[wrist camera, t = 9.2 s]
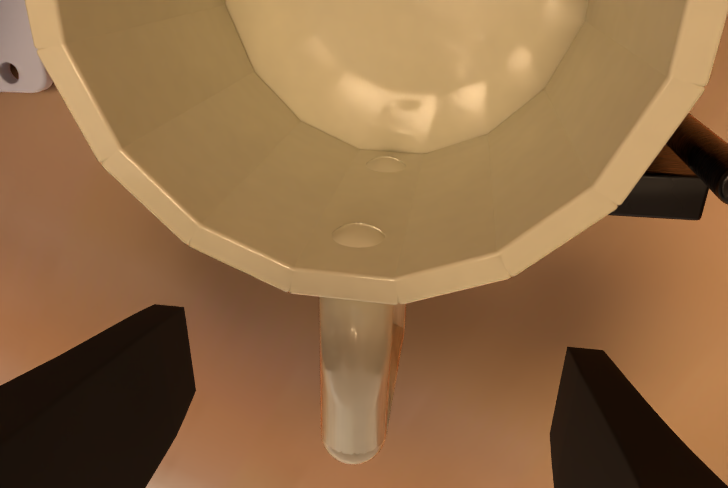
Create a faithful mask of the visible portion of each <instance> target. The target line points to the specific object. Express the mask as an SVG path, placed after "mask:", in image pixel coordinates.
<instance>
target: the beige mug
mask: <svg viewBox="0 0 728 488" xmlns="http://www.w3.org/2000/svg"><path fill="white" fill-rule="evenodd" d="M25 5H26V10H27V15H28V19H29V24H30V29H31V34H32V38H33V43H34V46H35V48H37V49H38V50H37V54H38V56H39V58H40V59H41V61H42V63H43V65H44V67H45V68H46V70H47V72H48V74H49V75H50V77H51V79H52V81H53V82H54V84H55V86H56V88H57V90H58V91H59V93H60V95H61V97H62V98H63V100H64V102H65V104H66V105H67V107H68V109H69V111H70V113H71V114H72V116H73V118H74V120H75V121H76V123H77V125H78V127H79V128H80V130H81V132H82V134H83V136H84V137H85V139H86V141H87V143H88V144H89V146H90V148H91V150H92V151H93V153H94V155H95V157H96V159H97V160H98V161H99V162H102V164H101V165H102V167H103V168H104V169H105V170H106V171H108V172H109V173H110V174H111V175H112V176H113V177H114V178H115V179H116V180H117V181H118V182H119V183H120V184H121V185H122V186H124V187H125V188H126V189H127V190H128V191H129V192H130V193H131V194H132V195H133V196H134V197H135V198H136V199H137V200H139V201H140V202H141V203H142V204H143V205H144V206H145V207H146V208H147V209H148V210H149V211H150V212H151V213H152V214H153V215H155V216H156V217H157V218H158V219H159V220H160V221H161V222H162V223H163V224H164V225H165V226H166V227H167V228H168V229H170V230H171V231H172V232H173V233H174V234H175V235H176V236H177V237H178V238H179V239H180V240H181V241H182V242H183V243H185V244H188V245H189V247H191V248H193V249H195V250H197V251H199V252H201V253H203V254H206V255H208V256H210V257H212V258H214V259H216V260H218V261H221V262H223V263H225V264H227V265H229V266H231V267H233V268H236V269H238V270H240V271H242V272H244V273H246V274H248V275H250V276H253V277H255V278H257V279H259V280H261V281H263V282H265V283H268V284H270V285H272V286H274V287H276V288H278V289H280V290H283V291H285V292H289V291H290V293H292V294H299V295H308V296H318V297H319V308H320V419H321V438H322V441H323V444H324V446H325V448H326V450H327V451H328V453H329V454H330V455H331V456H332V457H333V458H335V459H336V460H338V461H339V462H342V463H345V464H349V465H358V464H362V463H365V462H367V461H369V460H371V459H372V458H374V457H375V456H376V455H377V454H378V453H379V452H380V450H381V448H382V447H383V445H384V442H385V439H386V434H387V428H388V423H389V417H390V411H391V406H392V400H393V394H394V389H395V383H396V377H397V372H398V366H399V360H400V355H401V349H402V344H403V338H404V332H405V319H406V304H407V303H411V302H415V301H419V300H423V299H428V298H432V297H436V296H440V295H444V294H449V293H453V292H457V291H461V290H465V289H469V288H474V287H478V286H482V285H486V284H490V283H495V282H499V281H503V280H507V279H509V278H511V276H513V277H514V276H516V275H518V274H519V273H521V272H522V271H524V270H525V269H527V268H528V267H530V266H531V265H533V264H534V263H536V262H537V261H539V260H541V259H542V258H544V257H545V256H547V255H548V254H550V253H551V252H553V251H554V250H556V249H557V248H559V247H560V246H562V245H563V244H565V243H566V242H568V241H569V240H571V239H572V238H574V237H575V236H577V235H578V234H580V233H581V232H583V231H584V230H586V229H587V228H589V227H590V226H592V225H593V224H595V223H596V222H598V221H599V220H601V219H602V218H604V217H605V216H607V215H608V214H610V213H611V212H613V211H614V210H616V209H617V207H618V205H621V204H622V203H623V202H624V200H625V199H626V198H627V196H628V195H629V193H630V192H631V191H632V189H633V188H634V187H635V185H636V184H637V183H638V181H639V180H640V178H641V177H642V176H643V174H644V173H645V172H646V170H647V169H648V168H649V166H650V165H651V163H652V162H653V161H654V159H655V158H656V157H657V155H658V154H659V152H660V151H661V150H662V148H663V147H664V146H665V144H666V143H667V142H668V140H669V139H670V137H671V136H672V135H673V133H674V132H675V131H676V129H677V128H678V127H679V125H680V124H681V122H682V121H683V120H684V118H685V117H686V116H687V114H688V113H689V112H690V110H691V109H692V107H693V106H694V105H695V103H696V102H697V101H698V99H699V98H700V96H701V95H702V94H703V92H704V90H705V88H704V86H707V84H708V82H709V79H710V76H711V72H712V68H713V65H714V61H715V58H716V54H717V50H718V47H719V43H720V40H721V36H722V32H723V29H724V25H725V22H726V18H727V15H728V0H25Z"/></svg>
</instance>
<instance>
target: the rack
mask: <svg viewBox="0 0 728 488" xmlns="http://www.w3.org/2000/svg"><path fill="white" fill-rule="evenodd" d="M666 144H667V145H665V146H664V147H663V148H662V150H661V151H660V152H659V154H658V155H657V157H656V158H655V159H654V161H653V162H652V163H651V165H650V166H649V168H648V169H647V170H646V172H645V173H644V174H643V176H642V177H641V178H640V180H639V181H638V183H637V184H636V185H635V187H634V188H633V189H632V191H631V192H630V193H629V195H628V196H627V198H626V199H625V200H624V202H623V203H622V204H621V205H618V207H617V209H616V210H614V211H613V212H611V213H610V214H608V215H615V216H632V217H649V218H666V219H683V220H700V218H701V216H702V212H703V209H704V205H705V201H706V198H707V194H708V190H709V189H710V190H711V191H712V192H713V193H714V194H715V195H716V196H717V197H718V198H719V199H720V200H721V201H722V202H723V203H725V204H728V143H726V142H725V141H724V140H723V139H721V138H720V137H719V136H717V135H716V134H715V133H714V132H712V131H711V130H710V129H709V128H707V127H706V126H705V125H703V124H702V123H701V122H700V121H698V120H697V119H696V118H694V117H693V116H692V115H691V114H689V113H688V114H687V116H686V117H685V118H684V120H683V121H682V122H681V124H680V125H679V127H678V128H677V129H676V131H675V132H674V133H673V135H672V136H671V137H670V139H669V140H668V142H667V143H666Z"/></svg>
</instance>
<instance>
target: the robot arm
mask: <svg viewBox="0 0 728 488" xmlns="http://www.w3.org/2000/svg"><path fill="white" fill-rule="evenodd" d="M37 50H38V49H37V48H35V46H34V43H33V38H32V34H31V29H30V24H29V19H28V15H27V10H26V5H25V0H0V92H18V93H36V92H40V91H43V90H46V89H48V88H49V87H50V86H51V85H52V83H53V81H52V79H51V77H50V75H49V74H48V72H47V70H46V68H45V67H44V65H43V63H42V61H41V59H40V58H39V56H38V54H37ZM10 64H12V65H13V66H15V67H16V69H17V71H18V73H19V79H16V78H15V77H14V76H13V75H12V73H11V71H10ZM195 391H196V388H195V381H194V374H193V367H192V360H191V353H190V346H189V339H188V332H187V325H186V318H185V311H184V307H176V306H166V305H157V304H154V305H152V306H150V307H148V308H146V309H144V310H142V311H140V312H138V313H136V314H134V315H132V316H130V317H128V318H126V319H124V320H123V321H121V322H119V323H117V324H115V325H114V326H112V327H110V328H108V329H106V330H105V331H103V332H101V333H99V334H98V335H96V336H94V337H92V338H90V339H89V340H87V341H85V342H83V343H81V344H79V345H78V346H76V347H74V348H72V349H70V350H69V351H67V352H65V353H63V354H61V355H60V356H58V357H56V358H54V359H52V360H50V361H48V362H46V363H44V364H42V365H40V366H38V367H36V368H34V369H32V370H30V371H28V372H26V373H24V374H22V375H20V376H19V377H17V378H15V379H13V380H11V381H9V382H7V383H5V384H3V385H1V386H0V488H145V487H146V486H147V484H148V482H149V481H150V479H151V478H152V476H153V474H154V473H155V471H156V469H157V468H158V466H159V464H160V463H161V461H162V459H163V458H164V456H165V454H166V453H167V451H168V449H169V448H170V446H171V444H172V442H173V441H174V439H175V437H176V435H177V433H178V431H179V429H180V427H181V424H182V422H183V420H184V418H185V416H186V413H187V411H188V408H189V406H190V403H191V401H192V399H193V396H194V394H195ZM550 443H551V458H552V470H553V481H554V488H728V486H727V485H726V484H725V483H724V482H723V481H722V480H721V479H720V478H719V477H718V476H716V475H715V474H714V473H713V472H712V471H711V470H710V469H709V468H708V467H707V466H706V465H705V464H704V463H703V462H702V461H701V460H700V459H699V458H698V457H697V456H696V455H695V454H694V453H693V452H692V451H691V450H690V449H689V448H688V447H687V446H686V444H685V443H684V442H683V441H682V440H681V439H680V438H679V437H678V436H677V435H676V434H675V433H674V432H673V431H672V430H671V429H670V427H669V426H668V425H667V424H666V423H665V422H664V421H663V420H662V419H661V418H660V416H659V415H658V414H657V413H656V412H655V411H654V410H653V409H652V407H651V406H650V405H649V404H648V403H647V402H646V400H645V399H644V398H643V397H642V396H641V395H640V393H639V392H638V391H637V390H636V389H635V388H634V386H633V385H632V384H631V383H630V382H629V380H628V379H627V378H626V377H625V376H624V374H623V373H622V372H621V371H620V370H619V368H618V367H617V366H616V365H615V364H614V363H613V361H612V360H611V359H610V358H609V357H608V355H607V354H606V353H605V352H604V351H603V350H595V349H585V348H575V347H567V351H566V356H565V361H564V366H563V371H562V376H561V381H560V386H559V391H558V396H557V401H556V406H555V411H554V416H553V421H552V425H551V430H550Z"/></svg>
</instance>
